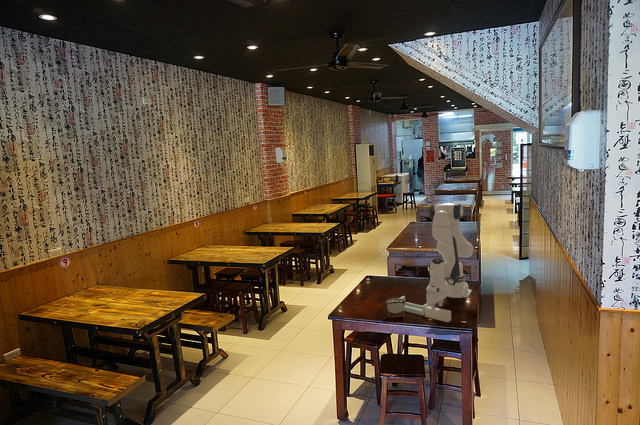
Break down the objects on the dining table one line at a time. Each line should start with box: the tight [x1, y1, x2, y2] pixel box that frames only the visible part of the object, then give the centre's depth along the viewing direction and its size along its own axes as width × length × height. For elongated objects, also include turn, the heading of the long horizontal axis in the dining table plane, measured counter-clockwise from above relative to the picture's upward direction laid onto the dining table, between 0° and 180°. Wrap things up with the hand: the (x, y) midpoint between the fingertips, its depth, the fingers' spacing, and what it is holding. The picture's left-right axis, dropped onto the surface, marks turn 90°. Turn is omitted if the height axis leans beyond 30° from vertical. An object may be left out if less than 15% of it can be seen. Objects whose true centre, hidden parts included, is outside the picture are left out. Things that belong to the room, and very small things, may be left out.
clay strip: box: [424, 306, 452, 323], centre depth 260 cm, size 4×15×6 cm, turn 49°
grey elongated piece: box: [398, 295, 431, 317], centre depth 276 cm, size 10×20×6 cm, turn 49°
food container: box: [385, 297, 407, 318], centre depth 269 cm, size 12×6×10 cm, turn 92°
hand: (437, 308), depth 260 cm, fingers open, 8 cm apart
